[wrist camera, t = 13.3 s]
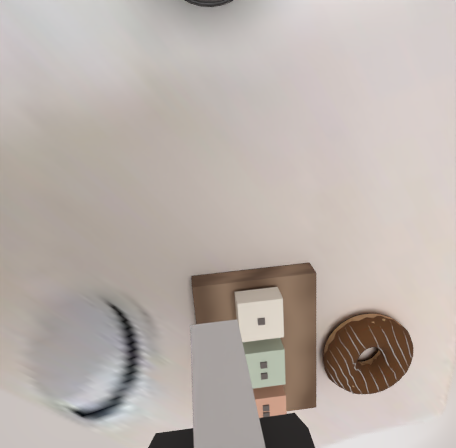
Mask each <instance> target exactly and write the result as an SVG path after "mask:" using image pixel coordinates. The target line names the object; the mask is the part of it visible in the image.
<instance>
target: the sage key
mask: <svg viewBox="0 0 456 448" xmlns="http://www.w3.org/2000/svg"><path fill="white" fill-rule="evenodd" d="M242 343H243V347H244V352H245V356H246V361H247V365H248V370H249V375H250V379H251V384H252V388H253V389H254V388H262V387H269V386H277V385H284V384H286V382H285V350H284V347H283V344H282V341H281V339H280V338H273V339H265V340H257V341H249V342H242Z"/></svg>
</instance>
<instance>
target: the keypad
mask: <svg viewBox="0 0 456 448" xmlns="http://www.w3.org/2000/svg"><path fill="white" fill-rule="evenodd" d="M271 287H278V289H279V291H280V293H281V295H282V298H283V319H284V337H281V338H280V339H281V341H282V344H283V347H284V350H285V382H286V384H284V385H283V388H284V391H285V394H286V411H292V410H299V409H307V408H314V407H316V272H315V271H314V269H313V267H312V266H311V264H310V263H303V264H294V265H285V266H277V267H268V268H259V269H250V270H241V271H232V272H224V273H215V274H206V275H197V276H192V290H193V298H194V307H195V315H196V324H203V323H212V322H220V321H228V320H236V319H237V318H236V305H235V292H237V291H245V290H254V289H263V288H271Z"/></svg>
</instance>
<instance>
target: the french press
mask: <svg viewBox="0 0 456 448" xmlns="http://www.w3.org/2000/svg"><path fill="white" fill-rule="evenodd" d="M185 1H187V2H189V3H191V4H195V5H198V6H206V7H214V6H220V5H224V4H226V3H229V2H231V1H233V0H185Z"/></svg>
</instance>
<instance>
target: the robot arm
mask: <svg viewBox="0 0 456 448" xmlns="http://www.w3.org/2000/svg"><path fill="white" fill-rule="evenodd" d="M190 333H191V366H192V400H193V428H192V429H184V430H177V431H170V432H163V433H156V434H155V436H154V438H153V440H152V442H151V443H150V445H149V447H148V448H315V446H314V443H313V441H312V438H311V435H310V432H309V429H308V427H307V426H306V425H305V424H304V423H303V422H302V421H301V420H300V419H299V417H298V416H297V415H296V414H295V413H291V414H283V415H276V416H269V417H262V418H259V415H258V411H257V406H256V402H255V397H254V393H253V388H252V384H251V379H250V375H249V370H248V365H247V361H246V356H245V352H244V347H243V343H242V338H241V334H240V329H239V325H238V320H237V319H236V320H228V321H220V322H212V323H203V324H195V325H190Z"/></svg>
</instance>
